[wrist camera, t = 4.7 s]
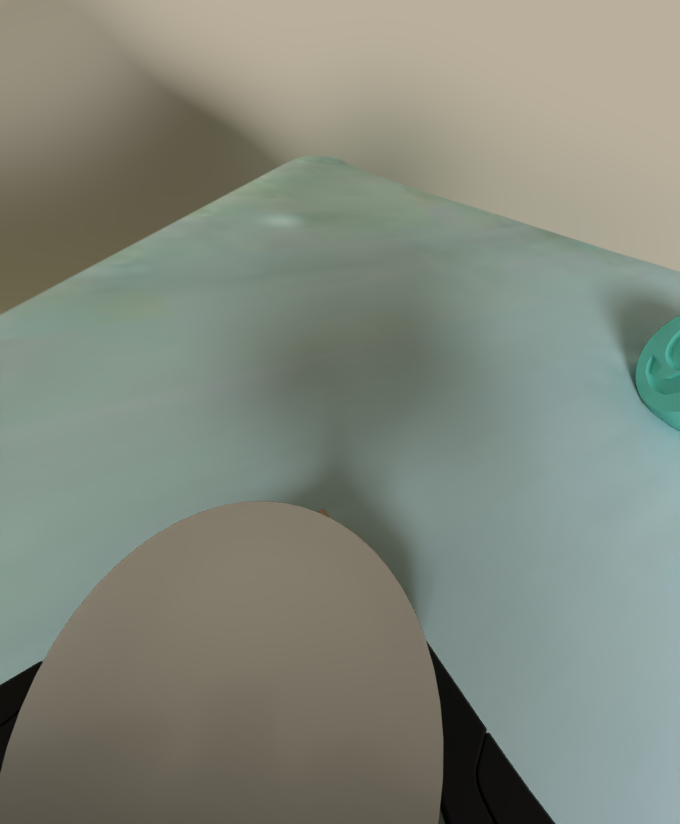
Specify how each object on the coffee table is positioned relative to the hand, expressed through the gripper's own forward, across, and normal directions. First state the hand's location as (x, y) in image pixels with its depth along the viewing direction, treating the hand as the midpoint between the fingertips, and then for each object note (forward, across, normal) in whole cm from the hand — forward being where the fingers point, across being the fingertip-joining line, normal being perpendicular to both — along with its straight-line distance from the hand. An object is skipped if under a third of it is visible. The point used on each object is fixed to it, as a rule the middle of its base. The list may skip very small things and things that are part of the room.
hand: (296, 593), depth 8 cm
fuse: (+3, 0, +5) cm, 6 cm away
